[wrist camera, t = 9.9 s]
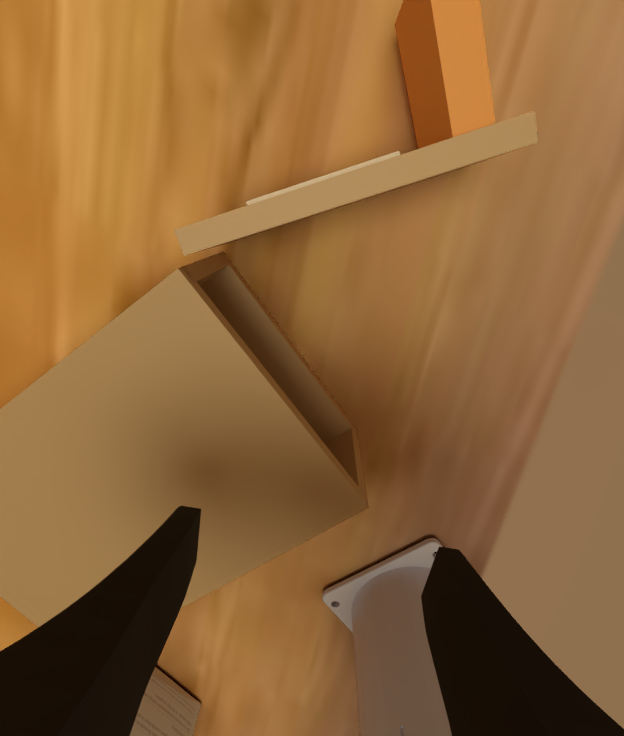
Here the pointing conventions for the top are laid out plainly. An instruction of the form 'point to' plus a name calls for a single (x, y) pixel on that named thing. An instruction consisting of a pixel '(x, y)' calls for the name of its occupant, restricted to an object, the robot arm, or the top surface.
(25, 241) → the top surface
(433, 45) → the carton flap
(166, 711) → the supplement box
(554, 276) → the top surface
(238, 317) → the kraft carton
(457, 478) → the top surface
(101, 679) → the robot arm
